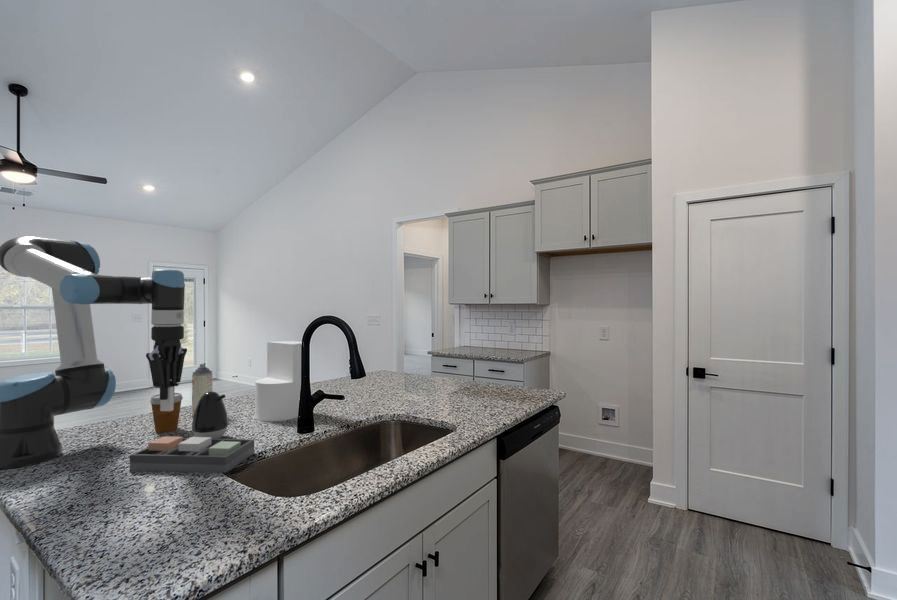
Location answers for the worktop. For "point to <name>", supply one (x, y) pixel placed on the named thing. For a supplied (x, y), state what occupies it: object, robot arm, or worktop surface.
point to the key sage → (223, 448)
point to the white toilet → (279, 383)
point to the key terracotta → (164, 443)
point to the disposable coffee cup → (166, 414)
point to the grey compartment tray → (191, 458)
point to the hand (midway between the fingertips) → (167, 410)
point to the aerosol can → (200, 384)
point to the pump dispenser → (210, 416)
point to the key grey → (194, 444)
